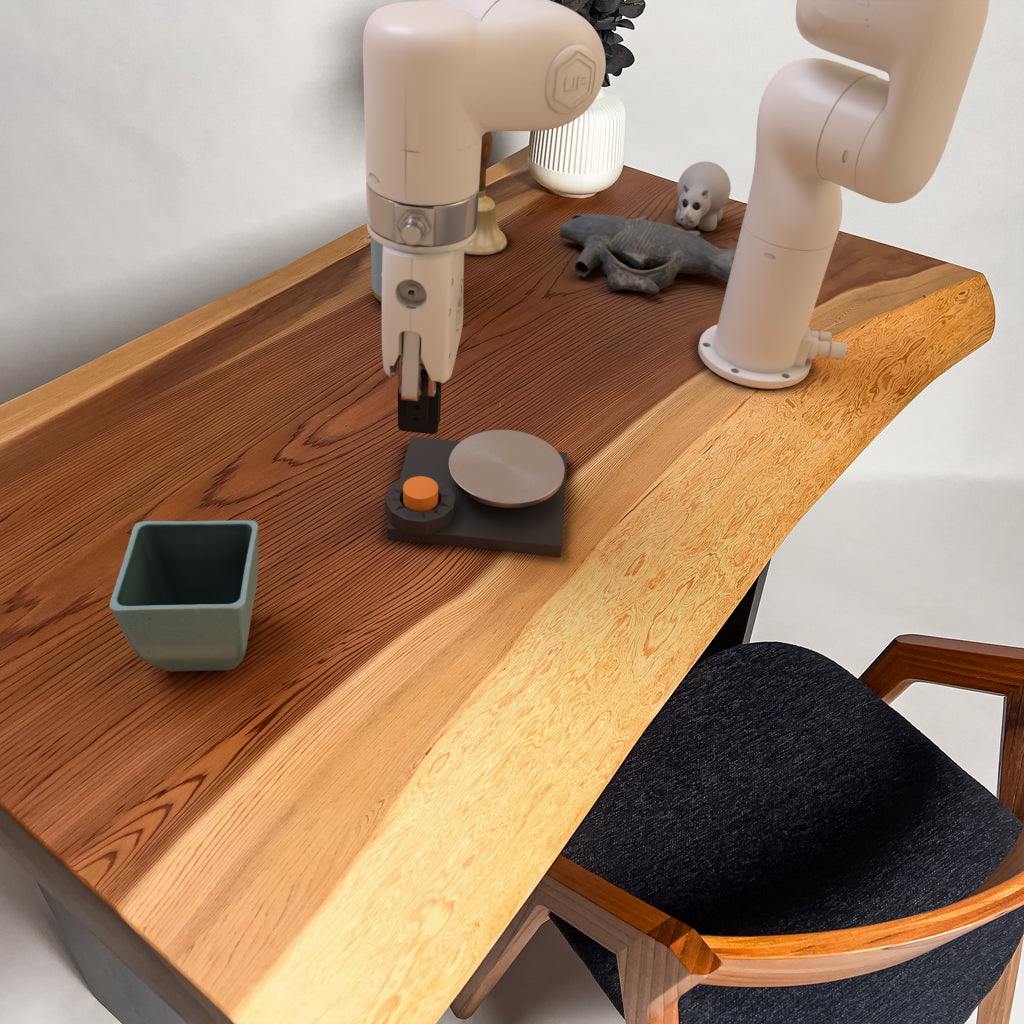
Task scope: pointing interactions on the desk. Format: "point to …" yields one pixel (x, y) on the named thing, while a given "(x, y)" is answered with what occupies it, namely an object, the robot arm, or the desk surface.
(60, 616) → the desk surface
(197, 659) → the flower pot
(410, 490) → the tare button
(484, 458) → the weighing platform
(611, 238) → the grey lumpy piece
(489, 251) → the hand bell
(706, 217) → the round bodied animal figurine
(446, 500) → the scale
